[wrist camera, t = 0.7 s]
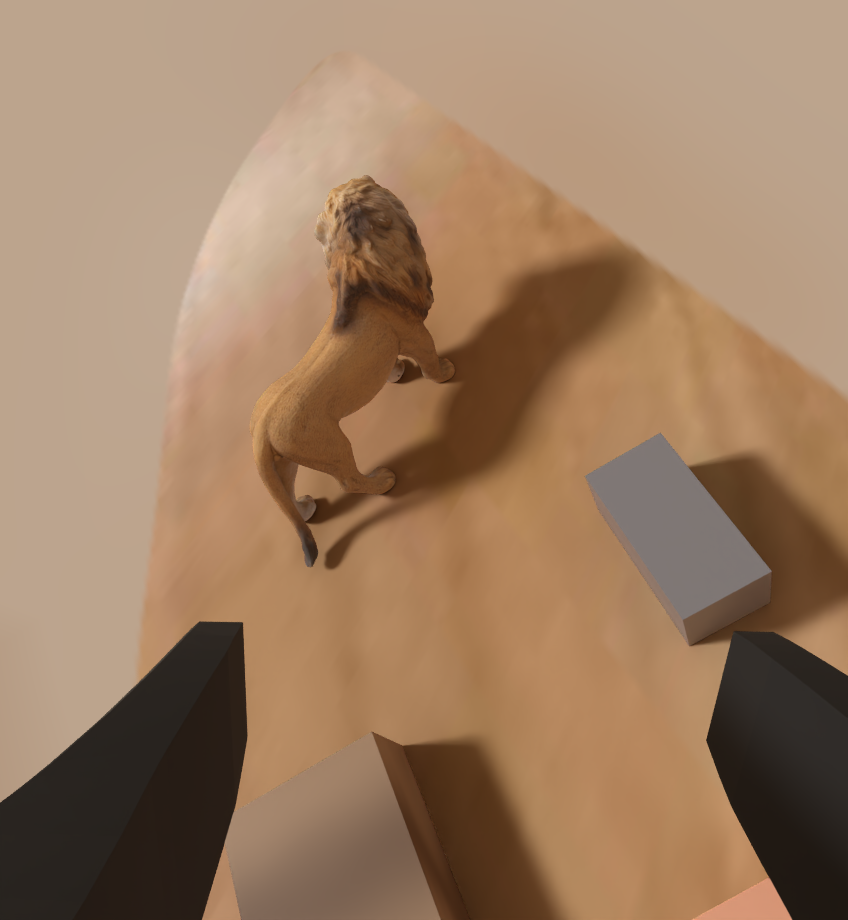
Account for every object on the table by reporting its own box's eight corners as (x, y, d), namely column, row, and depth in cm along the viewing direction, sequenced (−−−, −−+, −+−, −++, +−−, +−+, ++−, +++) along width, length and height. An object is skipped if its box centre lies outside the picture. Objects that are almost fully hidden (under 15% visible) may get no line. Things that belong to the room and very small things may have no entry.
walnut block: (505, 999, 22) (474, 1011, 19) (334, 1094, 22) (283, 1116, 20) (405, 747, 26) (371, 731, 24) (266, 827, 27) (219, 820, 24)
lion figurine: (394, 301, 38) (310, 159, 31) (487, 306, 35) (420, 154, 28) (271, 559, 32) (135, 461, 25) (370, 588, 30) (250, 488, 23)
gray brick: (770, 604, 24) (771, 571, 22) (689, 647, 24) (682, 620, 22) (668, 473, 28) (660, 432, 25) (599, 512, 28) (584, 475, 26)
